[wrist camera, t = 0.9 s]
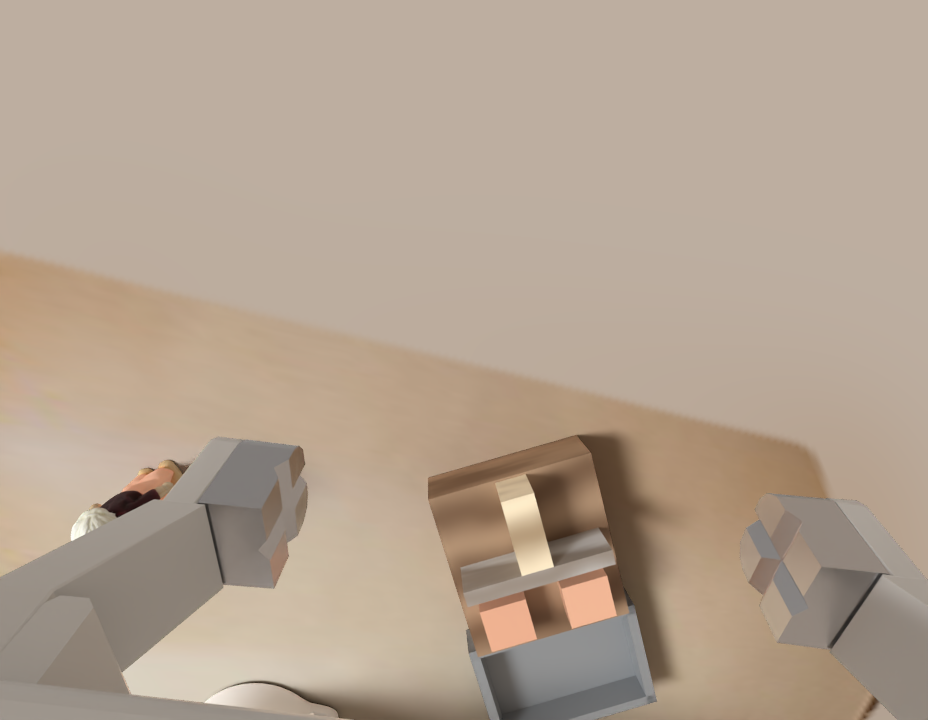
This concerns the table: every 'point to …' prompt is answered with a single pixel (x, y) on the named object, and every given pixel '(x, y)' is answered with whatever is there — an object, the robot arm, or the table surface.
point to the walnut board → (486, 532)
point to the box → (568, 673)
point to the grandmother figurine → (130, 497)
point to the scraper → (531, 551)
